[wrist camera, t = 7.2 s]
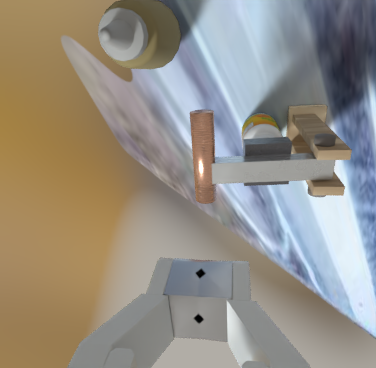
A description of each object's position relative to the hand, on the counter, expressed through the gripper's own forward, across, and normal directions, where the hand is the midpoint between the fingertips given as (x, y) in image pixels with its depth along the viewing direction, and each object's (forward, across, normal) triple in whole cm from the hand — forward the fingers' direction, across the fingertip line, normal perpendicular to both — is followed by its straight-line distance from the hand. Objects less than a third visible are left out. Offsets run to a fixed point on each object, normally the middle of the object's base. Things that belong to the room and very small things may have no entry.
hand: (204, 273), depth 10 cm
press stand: (+37, -10, +6) cm, 39 cm away
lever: (+25, -3, +4) cm, 26 cm away
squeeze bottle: (+37, +10, -8) cm, 39 cm away
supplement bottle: (+37, -5, +6) cm, 38 cm away
